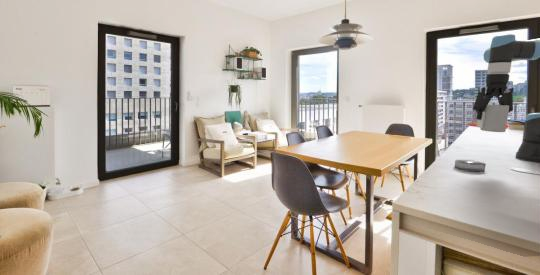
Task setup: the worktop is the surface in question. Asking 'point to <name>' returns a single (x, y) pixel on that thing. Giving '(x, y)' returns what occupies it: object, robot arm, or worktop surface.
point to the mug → (494, 118)
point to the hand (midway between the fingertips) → (490, 127)
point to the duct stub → (470, 165)
